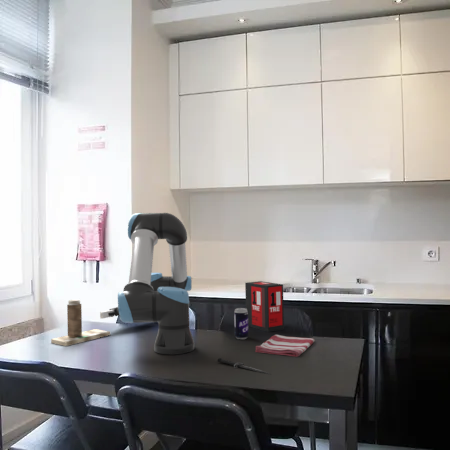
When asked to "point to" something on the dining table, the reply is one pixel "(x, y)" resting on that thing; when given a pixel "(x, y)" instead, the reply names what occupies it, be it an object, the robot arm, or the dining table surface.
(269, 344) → the dish towel
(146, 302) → the robot arm
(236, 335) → the beverage can
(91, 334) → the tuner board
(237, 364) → the knife
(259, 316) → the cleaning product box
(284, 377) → the dining table surface
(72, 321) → the brown cylinder
